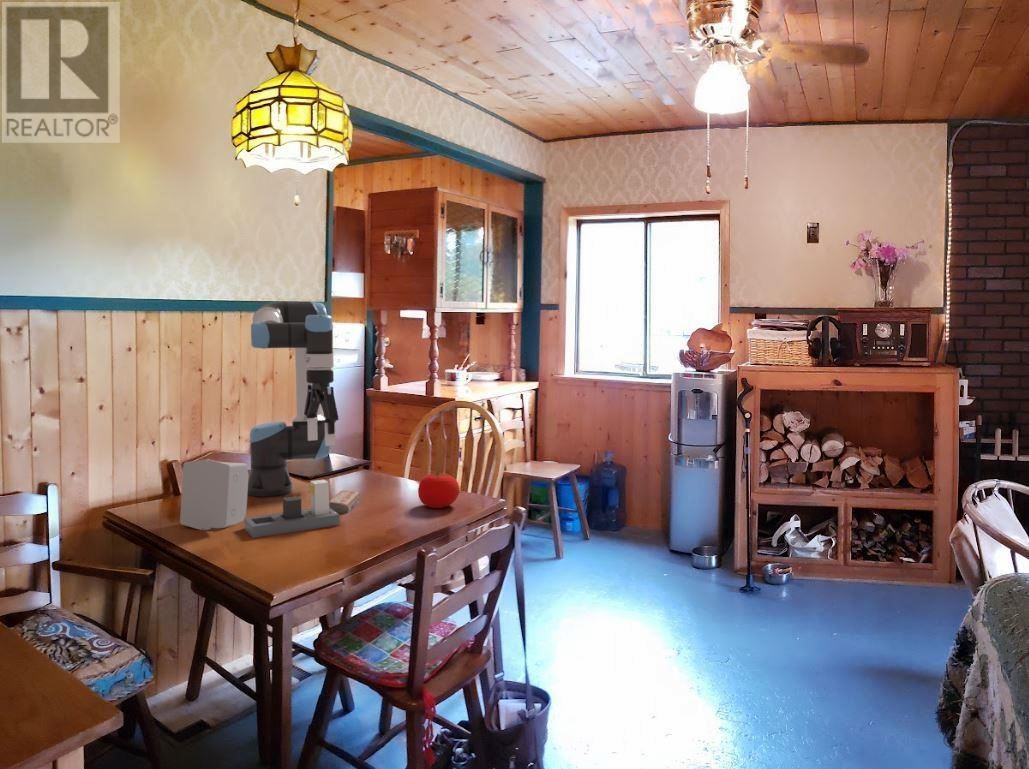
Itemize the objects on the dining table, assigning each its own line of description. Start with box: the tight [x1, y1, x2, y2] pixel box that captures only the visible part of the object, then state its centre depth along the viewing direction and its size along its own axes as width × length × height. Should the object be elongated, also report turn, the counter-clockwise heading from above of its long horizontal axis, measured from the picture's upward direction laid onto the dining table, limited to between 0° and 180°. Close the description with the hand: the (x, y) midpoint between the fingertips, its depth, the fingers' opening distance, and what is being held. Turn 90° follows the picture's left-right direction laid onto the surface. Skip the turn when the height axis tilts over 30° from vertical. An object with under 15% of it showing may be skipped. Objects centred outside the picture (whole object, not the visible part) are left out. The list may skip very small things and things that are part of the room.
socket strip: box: [243, 508, 341, 539], centre depth 213 cm, size 10×24×4 cm, turn 123°
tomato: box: [417, 472, 460, 509], centre depth 240 cm, size 12×13×11 cm
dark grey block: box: [282, 496, 302, 520], centre depth 213 cm, size 4×4×8 cm
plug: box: [308, 479, 330, 516], centre depth 217 cm, size 4×5×12 cm
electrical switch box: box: [179, 458, 249, 531], centre depth 220 cm, size 15×15×20 cm
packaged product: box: [329, 490, 367, 514], centre depth 235 cm, size 18×5×10 cm
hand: (321, 442), depth 217 cm, fingers open, 13 cm apart
